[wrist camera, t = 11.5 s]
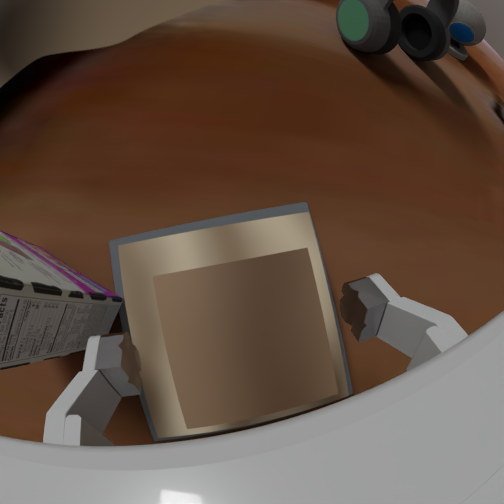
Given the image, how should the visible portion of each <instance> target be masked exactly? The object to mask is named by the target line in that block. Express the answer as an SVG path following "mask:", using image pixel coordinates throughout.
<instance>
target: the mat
mask: <svg viewBox="0 0 504 504" xmlns="http://www.w3.org/2000/svg"><path fill="white" fill-rule="evenodd" d="M304 212H309V214H310V211H309V208H308V205H307V202H302V203H296V204H290V205H284V206H278V207H272V208H267V209H261V210H255V211H250V212H244V213H239V214H234V215H228V216H223V217H218V218H213V219H208V220H202V221H197V222H193V223H188V224H183V225H178V226H173V227H168V228H164V229H159V230H155V231H150V232H145V233H141V234H137V235H132V236H128V237H123V238H119V239H115V240H111V241H109V245H110V255H111V263H112V271H113V278H114V285H115V292H116V295H118V296H120V297H122V298H123V302H122V304H121V306H120V309H119V315H120V320H121V325H122V330H123V332H128V334H129V336H130V337H131V333H130V328H129V323H128V317H127V311H126V305H125V298H124V292H123V285H122V277H121V269H120V260H119V250H118V245H123V244H128V243H133V242H138V241H143V240H148V239H153V238H158V237H163V236H169V235H174V234H179V233H185V232H190V231H196V230H201V229H207V228H212V227H218V226H224V225H229V224H235V223H241V222H247V221H253V220H259V219H265V218H272V217H278V216H284V215H291V214H297V213H304ZM310 218H311V214H310ZM311 222H312V225H313V221H312V218H311ZM313 229H314V233H315V237H316V240H317V244H318V248H319V252H320V256H321V260H322V264H323V268H324V273H325V277H326V281H327V285H328V290H329V294H330V299H331V303H332V308H333V313H334V317H335V322H336V327H337V332H338V337H339V342H340V347H341V353H342V358H343V364H344V369H345V375H346V381H347V387H348V393H349V395H351V394H353V390H352V385H351V379H350V374H349V369H348V364H347V359H346V354H345V349H344V344H343V339H342V335H341V330H340V326H339V321H338V317H337V313H336V308H335V304H334V300H333V296H332V292H331V288H330V284H329V280H328V276H327V272H326V268H325V264H324V261H323V257H322V253H321V249H320V246H319V242H318V239H317V235H316V232H315V228H314V225H313ZM131 344H133V343H132V338H131ZM138 375H139V377H140V374H138ZM139 397H140V401H141V404H142V407H143V410H144V413H145V416H146V419H147V422H148V425H149V428H150V431H151V434H152V437H153V439H154V441H163V440H172V439H181V438H188V437H195V436H202V435H208V434H214V433H219V432H224V431H229V430H234V429H239V428H244V427H248V426H252V425H256V424H260V423H264V422H268V421H272V420H276V419H279V418H276V419H272V420H268V421H264V422H260V423H255V424H251V425H246V426H241V427H236V428H231V429H225V430H220V431H214V432H207V433H200V434H193V435H184V436H175V437H164V438H158V436H157V433H156V430H155V427H154V424H153V421H152V418H151V414H150V411H149V408H148V404H147V401H146V397H145V393H144V390H143V386H142V382H141V394H140V395H139ZM308 410H309V409H308ZM305 411H306V410H305ZM302 412H303V411H302ZM298 413H300V412H298ZM295 414H296V413H295ZM291 415H293V414H291ZM288 416H290V415H288ZM284 417H286V416H284ZM280 418H283V417H280Z"/></svg>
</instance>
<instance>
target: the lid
mask: <svg viewBox="0 0 504 504" xmlns="http://www.w3.org/2000/svg"><path fill="white" fill-rule="evenodd" d="M118 250H119V260H120V269H121V277H122V285H123V292H124V298H125V305H126V311H127V317H128V323H129V328H130V333H131V338H132V343H133V345H134V346H136V348H137V350H138V352H139V355H140V359H141V371H140V372H139V374H140V378H141V382H142V386H143V390H144V393H145V397H146V401H147V404H148V408H149V411H150V414H151V418H152V421H153V424H154V427H155V430H156V433H157V436H158V438H164V437H175V436H184V435H193V434H200V433H207V432H214V431H220V430H225V429H231V428H236V427H241V426H246V425H251V424H255V423H260V422H264V421H268V420H272V419H276V418H280V417H284V416H288V415H291V414H295V413H298V412H302V411H305V410H308V409H312V408H315V407H318V406H321V405H324V404H327V403H330V402H333V401H336V400H339V399H341V398H344V397H347V396H349V393H348V387H347V381H346V375H345V369H344V364H343V358H342V353H341V347H340V342H339V337H338V332H337V327H336V322H335V317H334V313H333V308H332V303H331V299H330V294H329V290H328V285H327V281H326V277H325V273H324V268H323V264H322V260H321V256H320V252H319V248H318V244H317V240H316V237H315V233H314V229H313V225H312V222H311V218H310V214H309V212H304V213H297V214H291V215H284V216H278V217H272V218H265V219H259V220H253V221H247V222H241V223H235V224H229V225H224V226H218V227H212V228H207V229H201V230H196V231H190V232H185V233H179V234H174V235H169V236H163V237H158V238H153V239H148V240H143V241H138V242H133V243H128V244H123V245H118Z"/></svg>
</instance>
